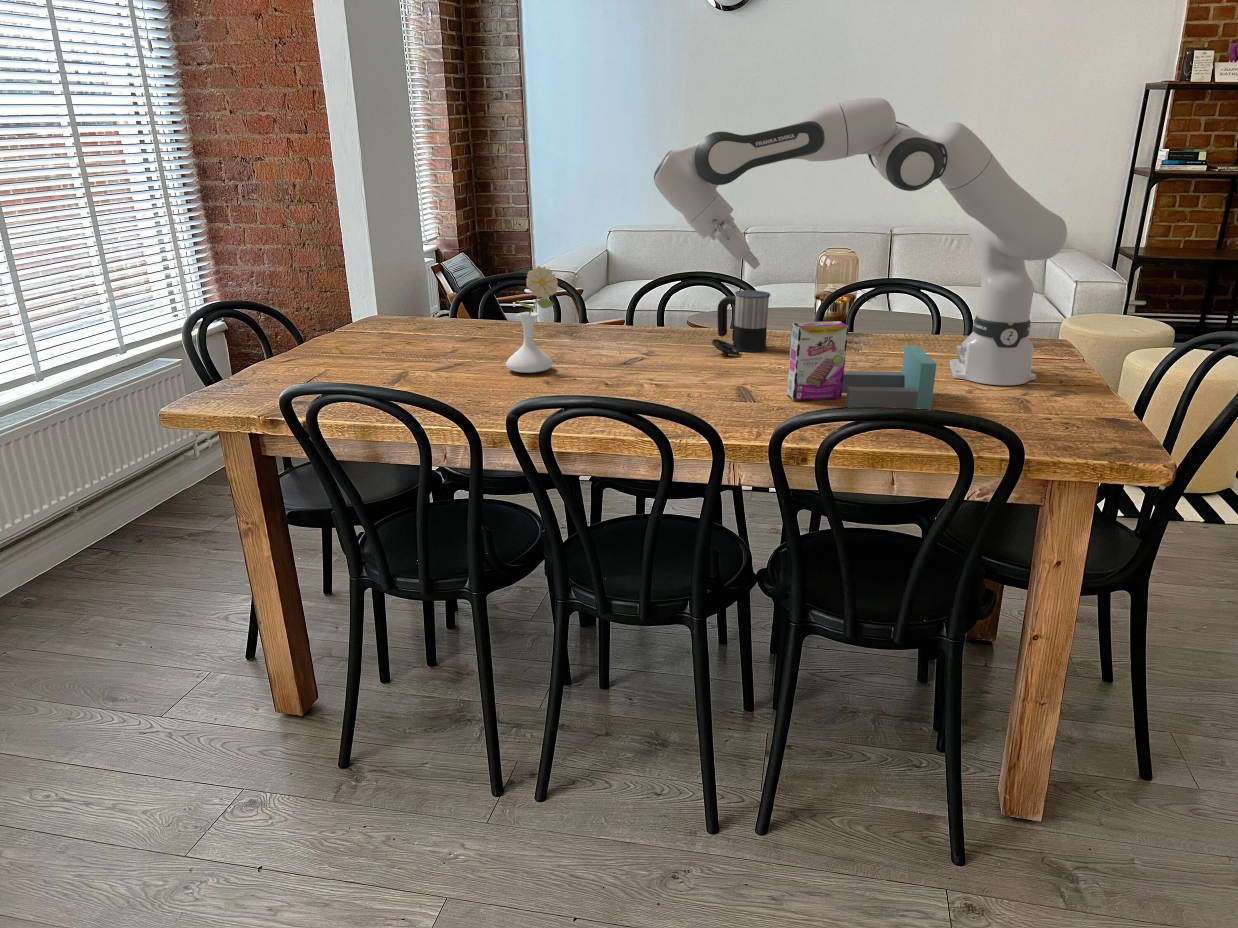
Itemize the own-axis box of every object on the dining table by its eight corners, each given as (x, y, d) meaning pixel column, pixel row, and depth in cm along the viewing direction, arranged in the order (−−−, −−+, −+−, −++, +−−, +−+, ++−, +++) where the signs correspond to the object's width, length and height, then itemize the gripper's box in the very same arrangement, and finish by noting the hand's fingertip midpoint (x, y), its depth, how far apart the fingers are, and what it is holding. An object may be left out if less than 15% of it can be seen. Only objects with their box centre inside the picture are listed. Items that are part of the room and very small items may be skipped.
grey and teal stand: (836, 388, 207) (840, 344, 204) (913, 389, 206) (918, 345, 202) (848, 408, 192) (852, 362, 189) (930, 410, 191) (936, 363, 187)
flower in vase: (507, 377, 216) (502, 270, 207) (505, 365, 227) (500, 263, 218) (562, 375, 218) (559, 269, 209) (557, 363, 229) (555, 262, 220)
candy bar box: (793, 402, 197) (798, 326, 191) (785, 395, 201) (790, 321, 196) (843, 399, 199) (849, 324, 193) (834, 393, 203) (840, 320, 198)
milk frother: (767, 345, 247) (771, 290, 242) (766, 359, 232) (769, 301, 227) (715, 343, 249) (717, 288, 244) (710, 357, 235) (711, 299, 230)
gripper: (725, 212, 185) (771, 261, 187) (722, 203, 204) (764, 249, 206) (702, 234, 186) (748, 283, 189) (701, 224, 206) (743, 268, 208)
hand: (756, 265), depth 198 cm, fingers open, 2 cm apart
